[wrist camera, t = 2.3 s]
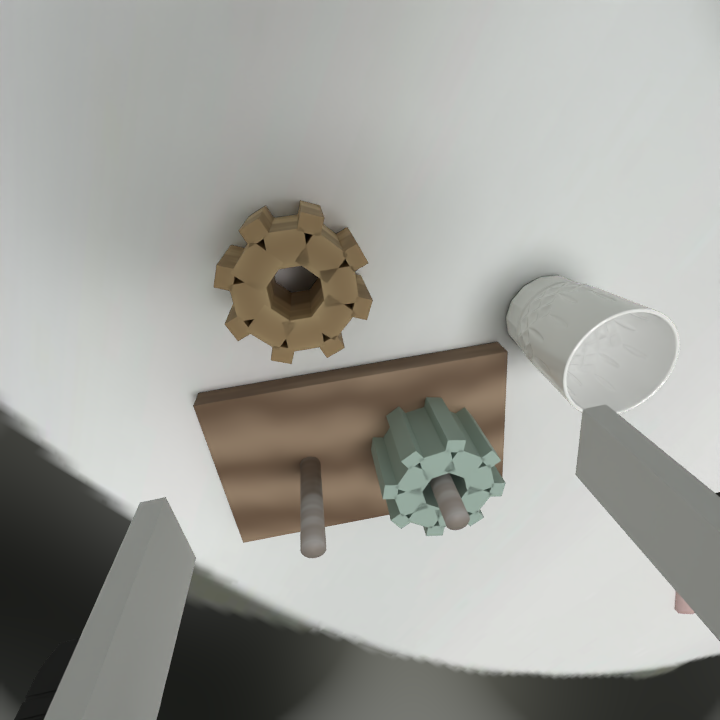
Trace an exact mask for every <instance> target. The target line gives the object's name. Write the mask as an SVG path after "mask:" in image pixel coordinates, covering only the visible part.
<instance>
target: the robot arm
mask: <svg viewBox="0 0 720 720" xmlns="http://www.w3.org/2000/svg"><path fill="white" fill-rule="evenodd" d="M576 476H577V477H578V478H579V479H580V480H581V482H582V483H583V484H584V485H585V486H586V487H587V489H588V490H589V491H590V492H591V493H592V494H593V495H594V497H595V498H596V499H597V500H598V501H599V502H600V504H601V505H602V506H603V507H604V508H605V509H606V510H607V512H608V513H609V514H610V515H611V516H612V517H613V519H614V520H615V521H616V522H617V523H618V524H619V525H620V527H621V528H622V529H623V530H624V531H625V532H626V534H627V535H628V536H629V537H630V538H631V539H632V541H633V542H634V543H635V544H636V545H637V546H638V547H639V549H640V550H641V551H642V552H643V553H644V554H645V556H646V557H647V558H648V559H649V560H650V561H651V562H652V564H653V565H654V566H655V567H656V568H657V569H658V571H659V572H660V573H661V574H662V575H663V576H664V577H665V579H666V580H667V581H668V582H669V583H670V584H671V586H672V587H673V588H674V589H675V590H676V591H677V593H678V594H679V595H680V596H681V597H682V598H683V599H684V601H685V602H686V603H687V604H688V605H689V606H690V608H691V609H692V610H693V611H694V612H695V613H696V614H697V616H698V617H699V618H700V619H701V620H702V621H703V623H704V624H705V625H706V626H707V627H708V628H709V630H710V631H711V632H712V633H713V634H714V635H715V636H716V638H717V639H718V640H719V641H720V492H718V493H714V492H713V491H712V490H711V489H709V488H708V487H707V486H706V485H704V484H703V483H702V482H701V481H699V480H698V479H697V478H696V477H695V476H693V475H692V474H691V473H690V472H688V471H687V470H686V469H685V468H684V467H682V466H681V465H680V464H679V463H677V462H676V461H675V460H674V459H673V458H671V457H670V456H669V455H668V454H666V453H665V452H664V451H663V450H661V449H660V448H659V447H658V446H657V445H655V444H654V443H653V442H652V441H650V440H649V439H648V438H647V437H646V436H644V435H643V434H642V433H641V432H639V431H638V430H637V429H636V428H634V427H633V426H632V425H631V424H630V423H628V422H627V421H626V420H625V419H623V418H622V417H621V416H620V415H619V414H617V413H616V412H615V411H614V410H612V409H611V408H610V407H609V406H608V405H606V404H604V405H599V406H595V407H590V408H585V409H583V412H582V421H581V430H580V439H579V448H578V457H577V466H576ZM195 560H196V557H195V555H194V553H193V551H192V549H191V547H190V545H189V543H188V541H187V539H186V537H185V535H184V533H183V531H182V529H181V527H180V525H179V523H178V521H177V519H176V517H175V515H174V513H173V511H172V509H171V507H170V505H169V503H168V501H167V499H166V497H165V498H160V499H155V500H150V501H146V502H141V503H140V504H139V506H138V508H137V511H136V513H135V515H134V517H133V520H132V522H131V524H130V527H129V529H128V531H127V533H126V535H125V538H124V540H123V542H122V545H121V547H120V549H119V551H118V553H117V556H116V558H115V560H114V563H113V565H112V567H111V569H110V572H109V574H108V576H107V578H106V580H105V583H104V585H103V587H102V590H101V592H100V595H99V596H98V599H97V601H96V603H95V605H94V608H93V610H92V612H91V615H90V617H89V619H88V621H87V624H86V626H85V628H84V630H83V632H82V635H81V637H80V638H79V639H75V640H70V641H66V642H62V643H60V644H59V645H58V646H57V648H56V649H55V650H54V651H53V653H52V654H51V655H50V657H49V658H48V659H47V660H46V661H45V663H44V664H43V665H42V666H41V668H40V669H39V671H38V673H37V675H36V677H35V679H34V681H33V683H32V685H31V687H30V689H29V691H28V693H27V695H26V701H25V702H23V703H22V705H21V707H20V709H19V711H18V713H17V715H16V717H15V719H14V720H156V718H157V715H158V711H159V707H160V703H161V698H162V694H163V690H164V686H165V682H166V678H167V674H168V670H169V666H170V661H171V658H172V654H173V650H174V646H175V641H176V637H177V633H178V629H179V625H180V621H181V617H182V613H183V609H184V605H185V601H186V597H187V593H188V589H189V584H190V580H191V576H192V572H193V568H194V564H195Z"/></svg>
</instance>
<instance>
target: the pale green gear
mask: <svg viewBox="0 0 720 720" xmlns="http://www.w3.org/2000/svg"><path fill="white" fill-rule="evenodd" d="M386 417H387V420H388V423H389V426H390V428H389V429H388V431H387V433H386V434H385V436H384V437H373V439H372V447H371V452H372V456H373V460H374V465H375V469H376V473H377V477H378V481H379V486H380V490H381V494H382V498H383V499H386V502H387V506H388V511H389V515H390V519H391V521H392V522H394V523H395V524H396V525H397V526H398V527H400V528H401V529H402V528H403V527H405V526H406V525H408V524H409V523H410V522H411V523H414V524H418V525H421V526H423V527H424V530H425V533H426V536H439V535H443V531H444V527H446V524H445V521H444V519H443V516H442V514H441V511H440V509H439V506H438V503H437V501H436V498H435V496H434V493H433V491H432V488H431V485H430V483H429V482H430V480H431V479H432V478H435V477H438V476H441V475H444V474H447V473H450V476H451V478H452V480H453V482H454V484H455V486H456V489H457V491H458V493H459V495H460V497H461V499H462V501H463V504H464V506H465V508H466V510H467V512H468V514H469V517H470V521H469V523H468V525H469V526H472V525H473V524H475V523H476V522H478V521H479V520H481V519H482V518H484V516H483V514H482V512H481V510H480V509H481V507H482V506H483V505H484V504H485V502H486V501H487V500H488V499H489V497H493V496H502V493H503V489H504V486H505V481H504V480H503V478H502V476H501V475H500V473H499V472H498V470H497V468H496V467H495V465H496V464H497V463H499V462H500V461H501V459H500V458H499V456H498V455H497V453H496V452H495V450H494V448H493V447H492V445H491V444H490V442H489V441H488V439H487V438H486V436H485V435H484V433H483V432H482V430H481V428H480V427H479V425H478V424H477V422H476V421H475V419H474V418H473V416H472V415H471V414H470V413H469V412H468V410H467V409H466V408H465V407H464V408H463V409H461V410H460V411H458V412H457V413H453V412H451V411H449V409H448V408H447V406H446V404H445V402H444V401H443V399H442V398H438V397H426V400H425V405H424V407H422V408H419V409H416V410H413V411H410V412H407V413H405V412H404V411H403V410H402V409H401V408H400V407H397V408H396V409H395V410H393V411H392V412H391V413H389V414H388V415H387V416H386Z"/></svg>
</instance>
